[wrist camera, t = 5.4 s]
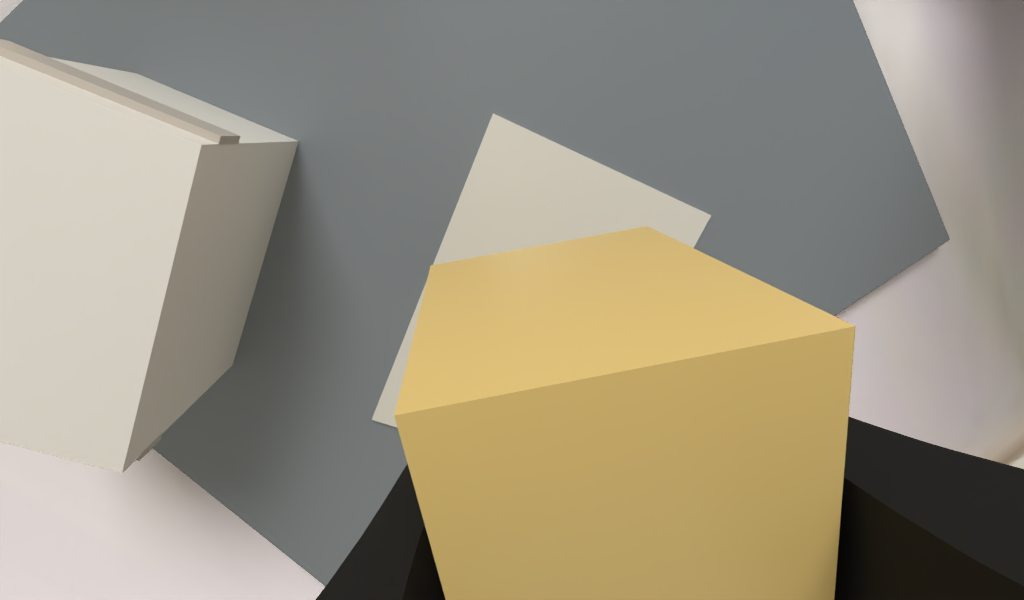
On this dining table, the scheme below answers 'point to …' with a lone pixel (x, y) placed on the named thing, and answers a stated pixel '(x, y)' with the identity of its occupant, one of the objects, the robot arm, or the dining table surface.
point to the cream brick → (121, 252)
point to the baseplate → (494, 187)
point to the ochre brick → (625, 426)
